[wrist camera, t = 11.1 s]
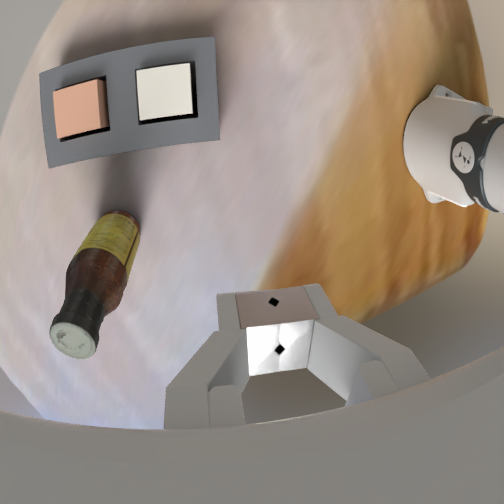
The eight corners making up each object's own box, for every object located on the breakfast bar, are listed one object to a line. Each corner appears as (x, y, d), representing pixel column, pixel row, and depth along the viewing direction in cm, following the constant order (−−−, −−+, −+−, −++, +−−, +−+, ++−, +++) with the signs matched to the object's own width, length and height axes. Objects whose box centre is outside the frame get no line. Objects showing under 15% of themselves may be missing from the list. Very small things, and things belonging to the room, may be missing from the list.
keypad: (212, 46, 28) (214, 36, 23) (217, 136, 33) (220, 140, 28) (58, 76, 25) (39, 73, 21) (66, 160, 30) (48, 168, 26)
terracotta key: (108, 82, 25) (96, 79, 22) (112, 125, 28) (100, 128, 24) (68, 92, 25) (52, 92, 21) (72, 134, 27) (57, 138, 24)
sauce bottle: (91, 214, 34) (18, 308, 17) (134, 202, 35) (82, 296, 17) (107, 259, 37) (58, 369, 20) (149, 249, 38) (119, 364, 20)
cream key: (190, 68, 27) (189, 63, 23) (193, 113, 29) (192, 113, 25) (144, 75, 26) (136, 70, 22) (147, 119, 28) (139, 120, 25)
